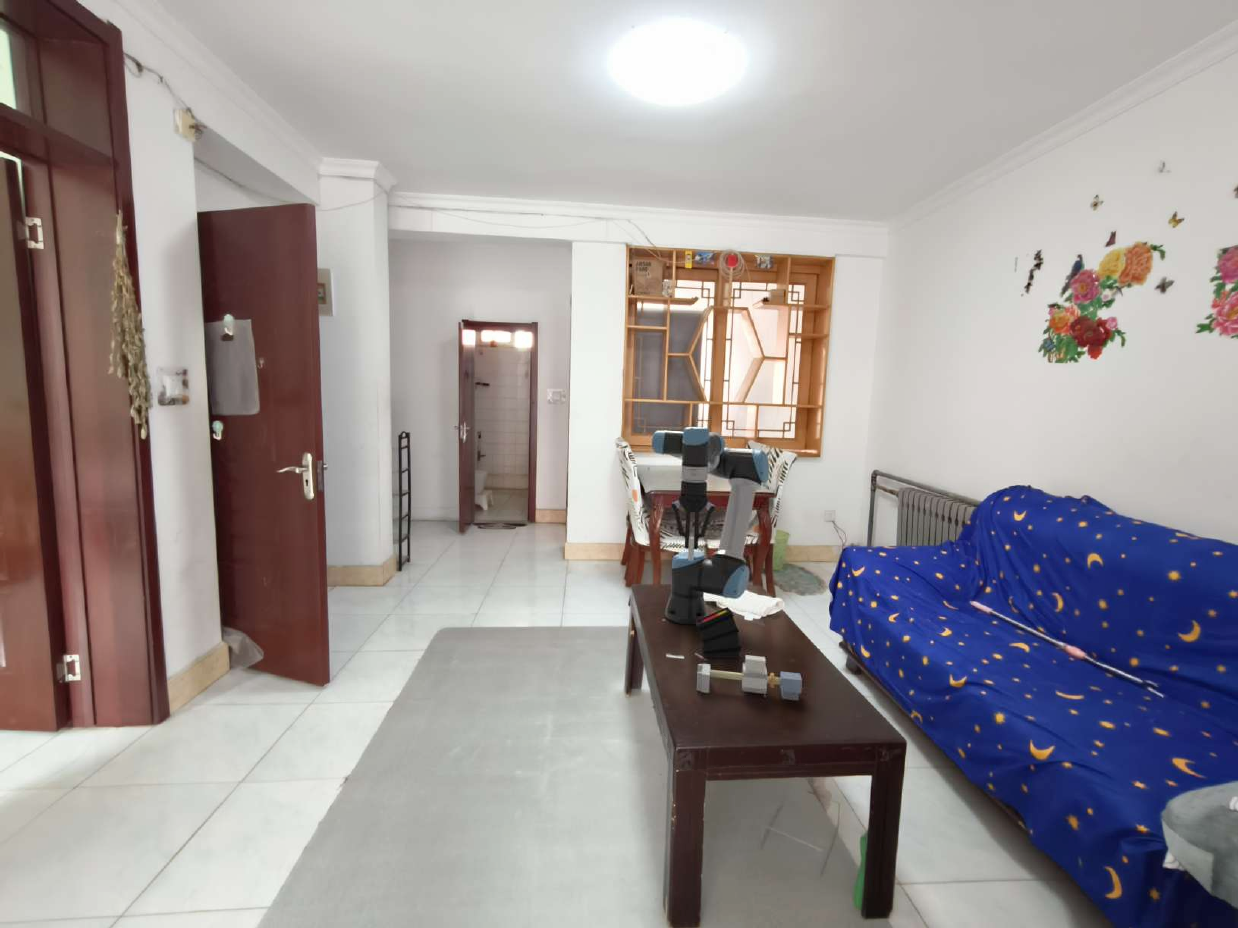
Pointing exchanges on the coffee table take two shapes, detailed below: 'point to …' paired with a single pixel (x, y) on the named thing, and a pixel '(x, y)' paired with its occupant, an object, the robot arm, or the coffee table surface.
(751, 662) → the white stepped block
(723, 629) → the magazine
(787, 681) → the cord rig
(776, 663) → the coffee table surface
